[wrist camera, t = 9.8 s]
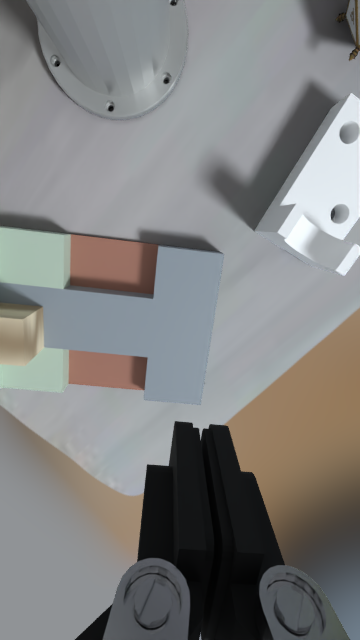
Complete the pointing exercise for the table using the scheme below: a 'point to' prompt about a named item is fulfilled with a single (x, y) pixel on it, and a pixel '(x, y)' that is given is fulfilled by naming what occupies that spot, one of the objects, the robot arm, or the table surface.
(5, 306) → the maple block
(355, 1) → the game die
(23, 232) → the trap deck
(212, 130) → the table surface
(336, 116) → the bracket
